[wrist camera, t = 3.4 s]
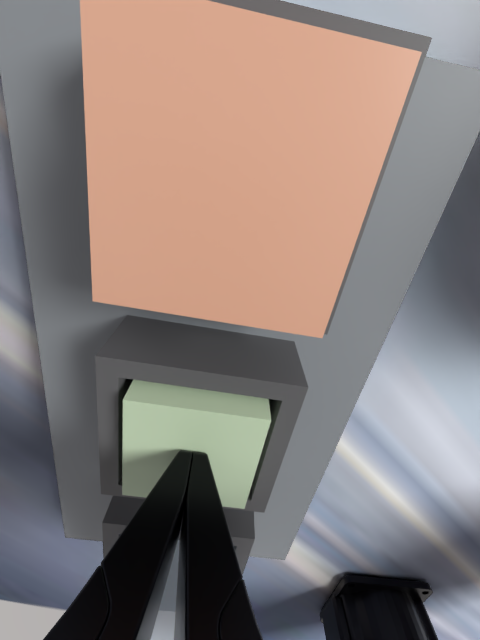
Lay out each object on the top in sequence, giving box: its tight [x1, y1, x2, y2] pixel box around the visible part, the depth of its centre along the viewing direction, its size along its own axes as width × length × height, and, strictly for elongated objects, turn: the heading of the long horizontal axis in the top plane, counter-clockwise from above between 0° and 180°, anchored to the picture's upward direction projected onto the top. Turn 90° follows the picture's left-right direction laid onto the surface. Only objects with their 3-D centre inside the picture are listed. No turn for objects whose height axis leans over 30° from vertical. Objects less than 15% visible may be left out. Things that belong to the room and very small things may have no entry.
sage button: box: [122, 380, 271, 509], centre depth 10 cm, size 4×4×3 cm
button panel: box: [0, 0, 480, 574], centre depth 11 cm, size 12×22×4 cm, turn 170°
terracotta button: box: [80, 0, 422, 338], centre depth 6 cm, size 4×4×3 cm
